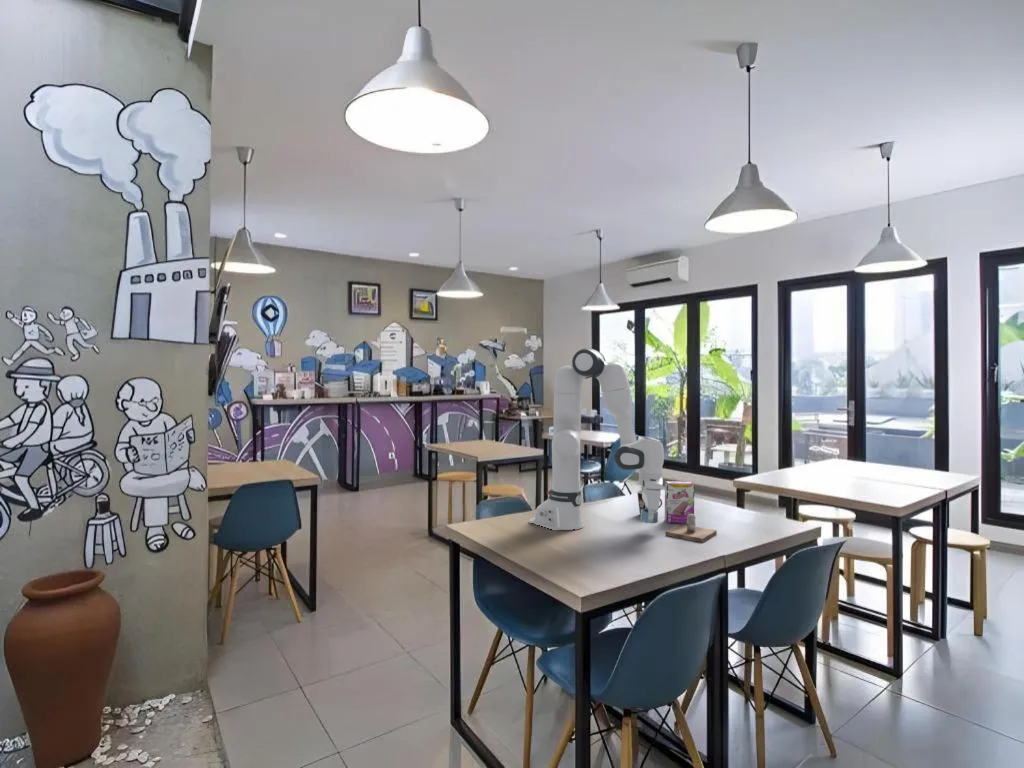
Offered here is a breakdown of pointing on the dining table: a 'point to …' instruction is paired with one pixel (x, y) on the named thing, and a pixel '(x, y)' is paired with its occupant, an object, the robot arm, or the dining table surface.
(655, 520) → the blue faceted pot
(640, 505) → the coffee mug
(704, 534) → the shaft stand
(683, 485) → the candy bar box
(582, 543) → the dining table surface
